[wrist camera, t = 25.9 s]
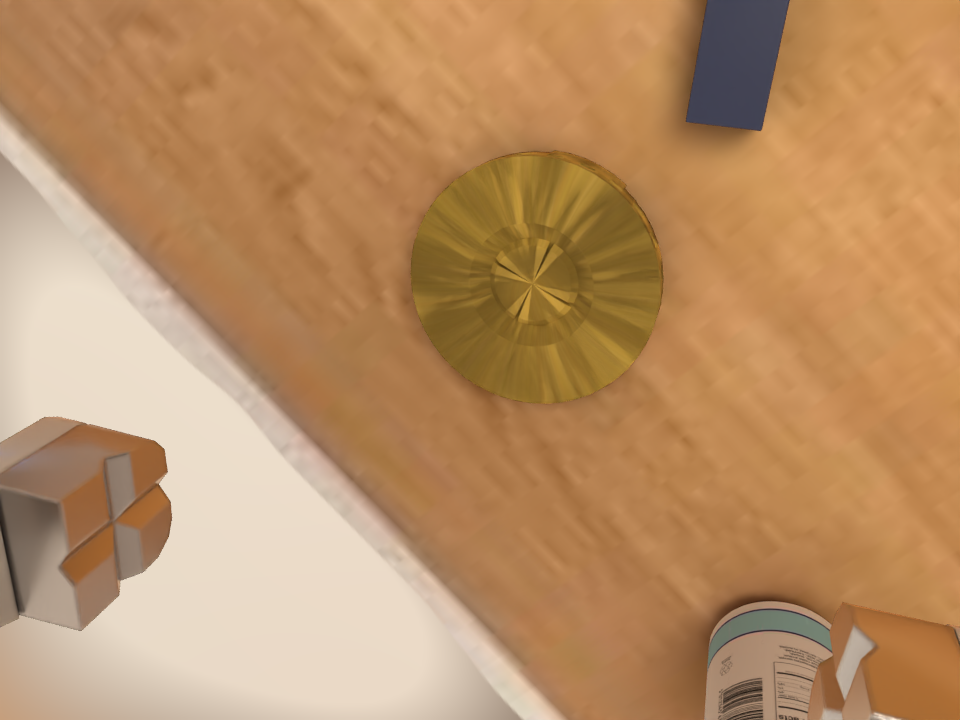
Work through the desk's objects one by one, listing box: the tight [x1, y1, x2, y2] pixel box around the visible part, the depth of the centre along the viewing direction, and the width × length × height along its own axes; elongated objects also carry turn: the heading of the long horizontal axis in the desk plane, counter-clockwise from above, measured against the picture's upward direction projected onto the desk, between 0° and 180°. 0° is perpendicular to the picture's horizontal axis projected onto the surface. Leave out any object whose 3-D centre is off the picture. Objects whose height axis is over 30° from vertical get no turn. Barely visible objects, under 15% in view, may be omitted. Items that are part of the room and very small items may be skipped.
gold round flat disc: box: [411, 151, 663, 404], centre depth 39 cm, size 12×12×2 cm
